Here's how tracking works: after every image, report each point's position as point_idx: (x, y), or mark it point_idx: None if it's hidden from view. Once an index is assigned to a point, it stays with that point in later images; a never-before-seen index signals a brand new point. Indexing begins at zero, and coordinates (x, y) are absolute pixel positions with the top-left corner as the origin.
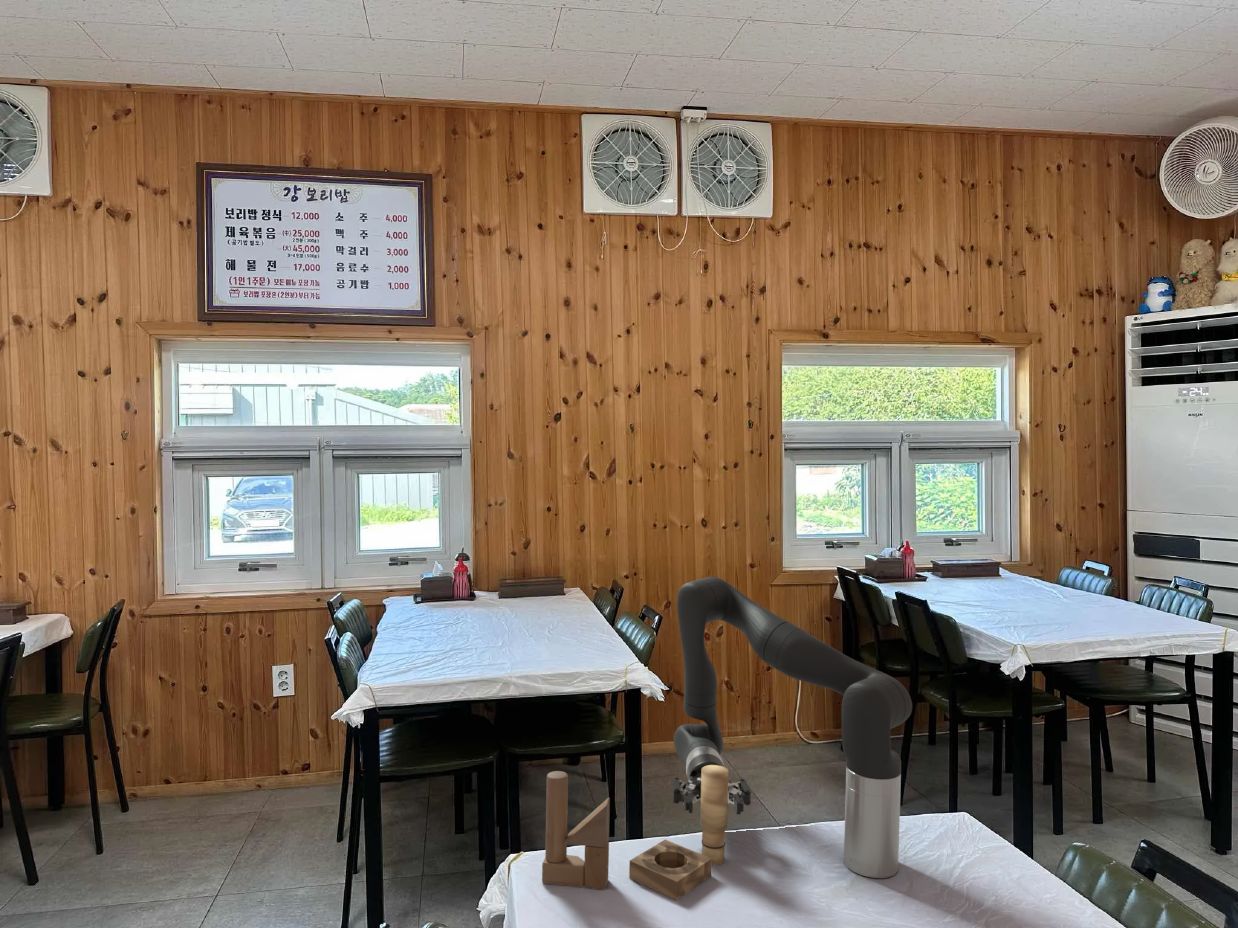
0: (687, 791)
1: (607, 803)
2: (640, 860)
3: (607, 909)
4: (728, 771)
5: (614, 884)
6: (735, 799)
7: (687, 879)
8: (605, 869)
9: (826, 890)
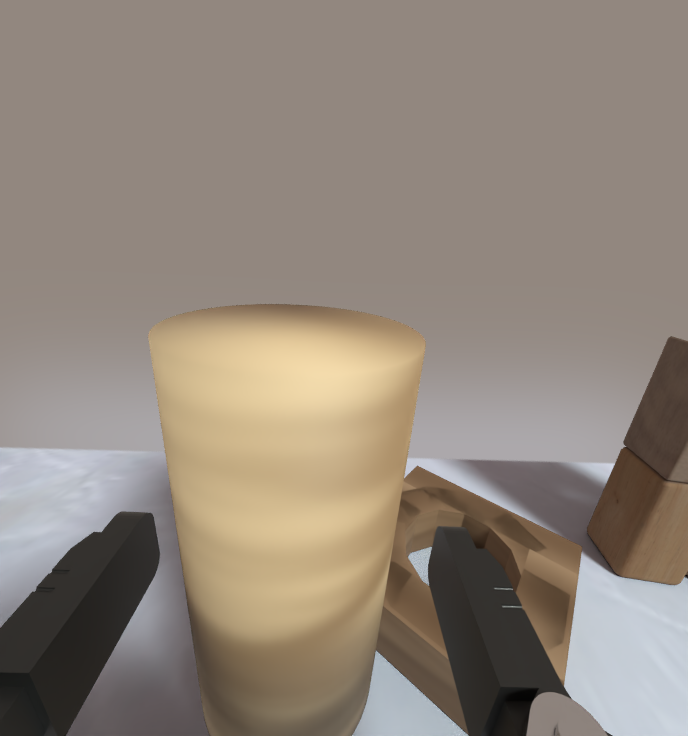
0: (550, 714)
1: (686, 343)
2: (549, 546)
3: (532, 478)
4: (177, 317)
5: None
6: (100, 587)
7: None
8: (603, 495)
9: (18, 527)
